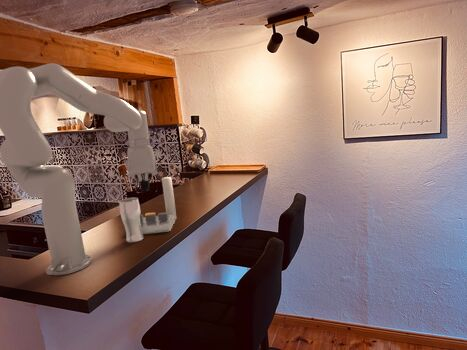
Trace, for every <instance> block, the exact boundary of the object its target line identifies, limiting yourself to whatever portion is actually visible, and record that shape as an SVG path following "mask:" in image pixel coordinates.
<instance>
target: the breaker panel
mask: <svg viewBox="0 0 467 350" xmlns="http://www.w3.org/2000/svg"><path fill="white" fill-rule="evenodd" d="M168 217H169V219H168V220H161V221H159V219H158V215H156V221H151V222H146V218H145V217H143V218H144V221H143V222H141V232H142V235H148V234H158V233H159V234H160V233H168V232H169V231H170V232H171V230H172V229H173V226H174V225H173V224H175V223H176V219H175V217H174V215H168ZM170 232H169V233H170Z"/></svg>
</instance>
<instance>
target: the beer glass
mask: <svg viewBox="0 0 467 350" xmlns="http://www.w3.org/2000/svg"><path fill="white" fill-rule="evenodd" d="M118 203H119V213H120V216H121V217H120V218H121V221H122V223H123V225H124V226H123V227H124V229H125V232H126V233H125V234H126V240H125V241H126V242H127V243H137V242H139V241H142V240H143V239H144V234H142V232H141V215H142V214H141V207H140V202H139V198H138V197H128V198H124V199H121V200H119V202H118Z"/></svg>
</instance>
